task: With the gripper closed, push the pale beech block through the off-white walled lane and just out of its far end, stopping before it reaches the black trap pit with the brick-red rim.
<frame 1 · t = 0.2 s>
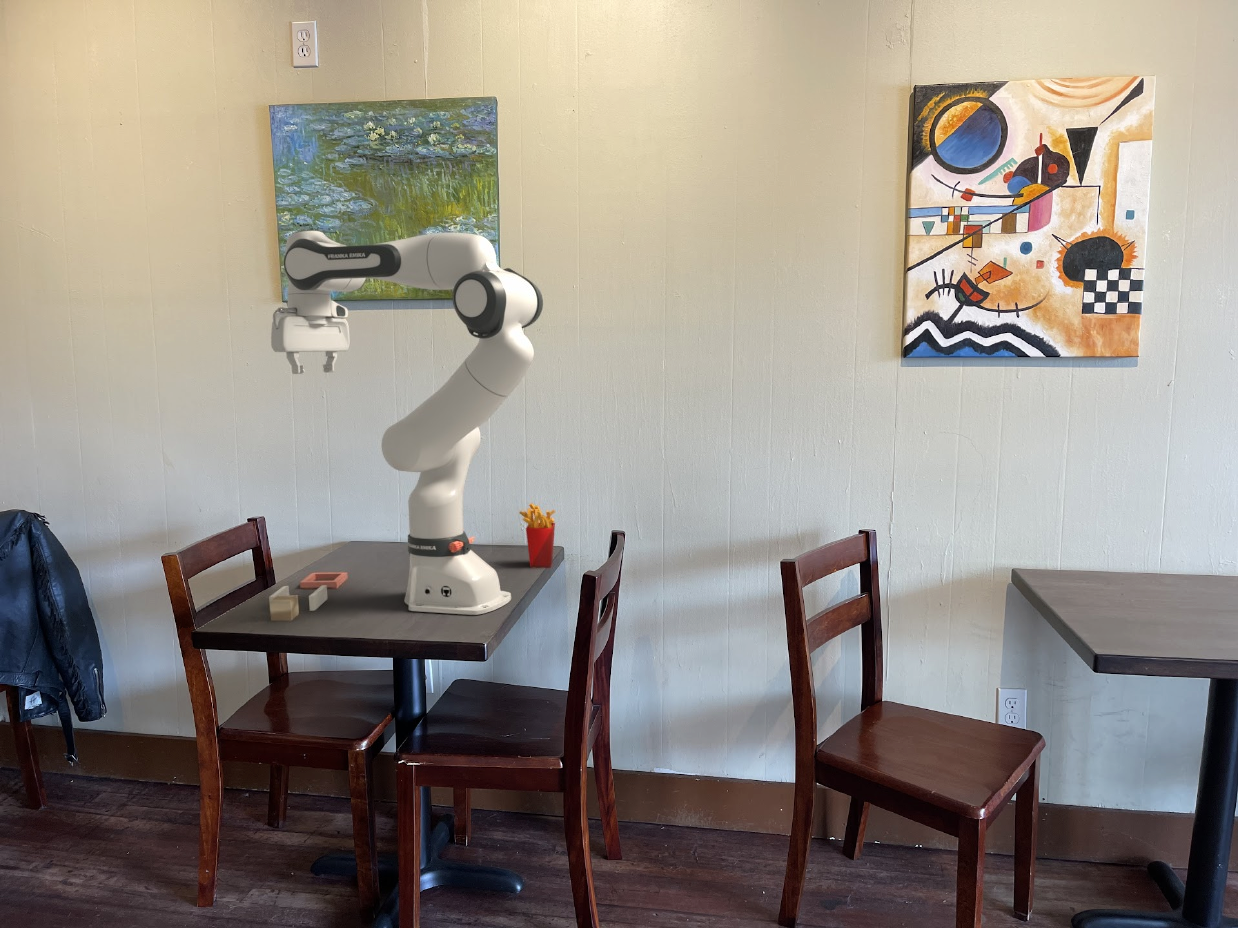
hand: (313, 373, 186), 47 cm above the table, tool pointing down, fingers open, 8 cm apart
beech block: (285, 617, 169), on the table
trap pit: (324, 583, 193), on the table
walled lane: (299, 604, 177), on the table
french fries: (537, 566, 207), on the table
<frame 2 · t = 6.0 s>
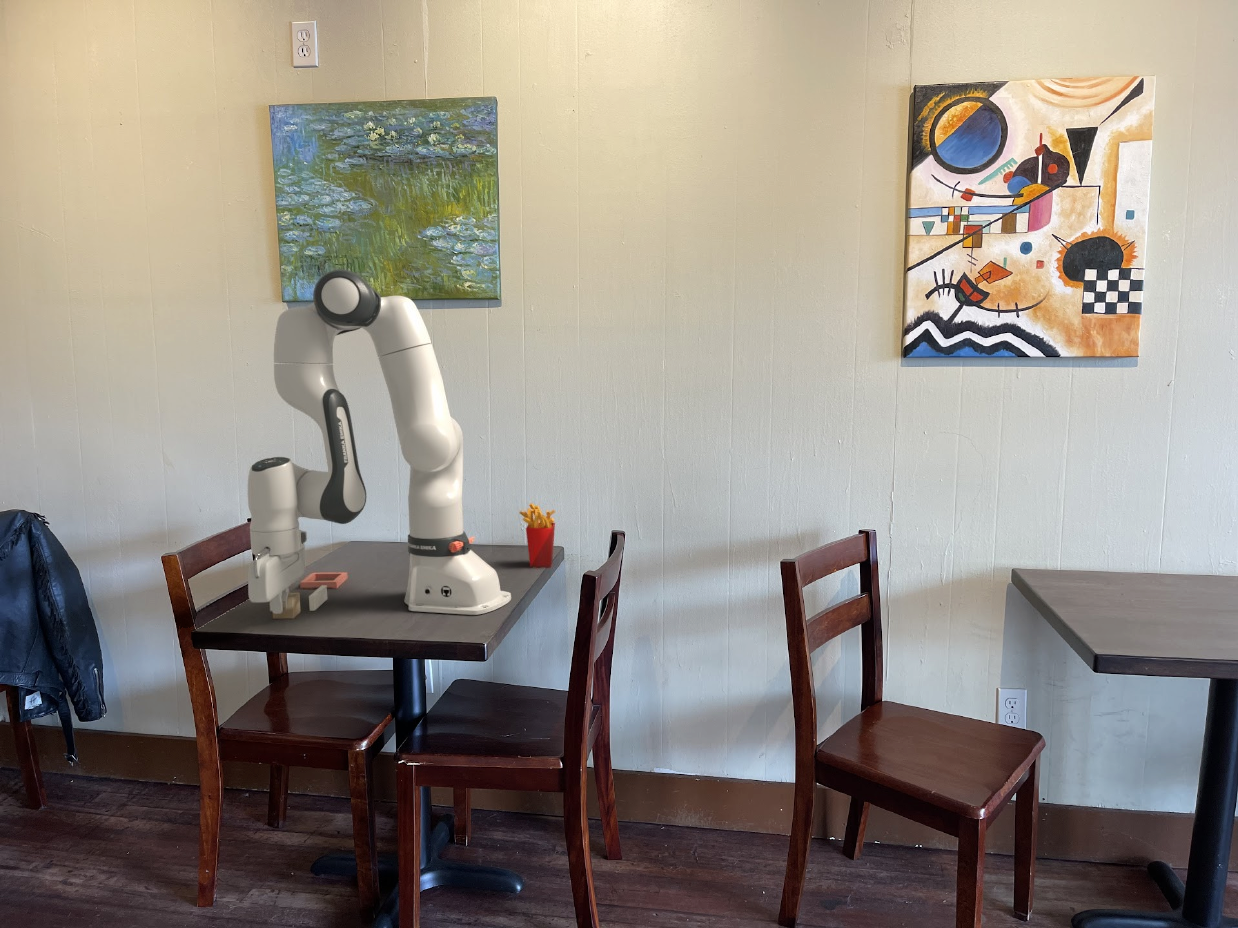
hand: (279, 611, 167), 2 cm above the table, tool pointing down, fingers closed
beech block: (286, 615, 170), on the table, touching gripper
everything else where it was.
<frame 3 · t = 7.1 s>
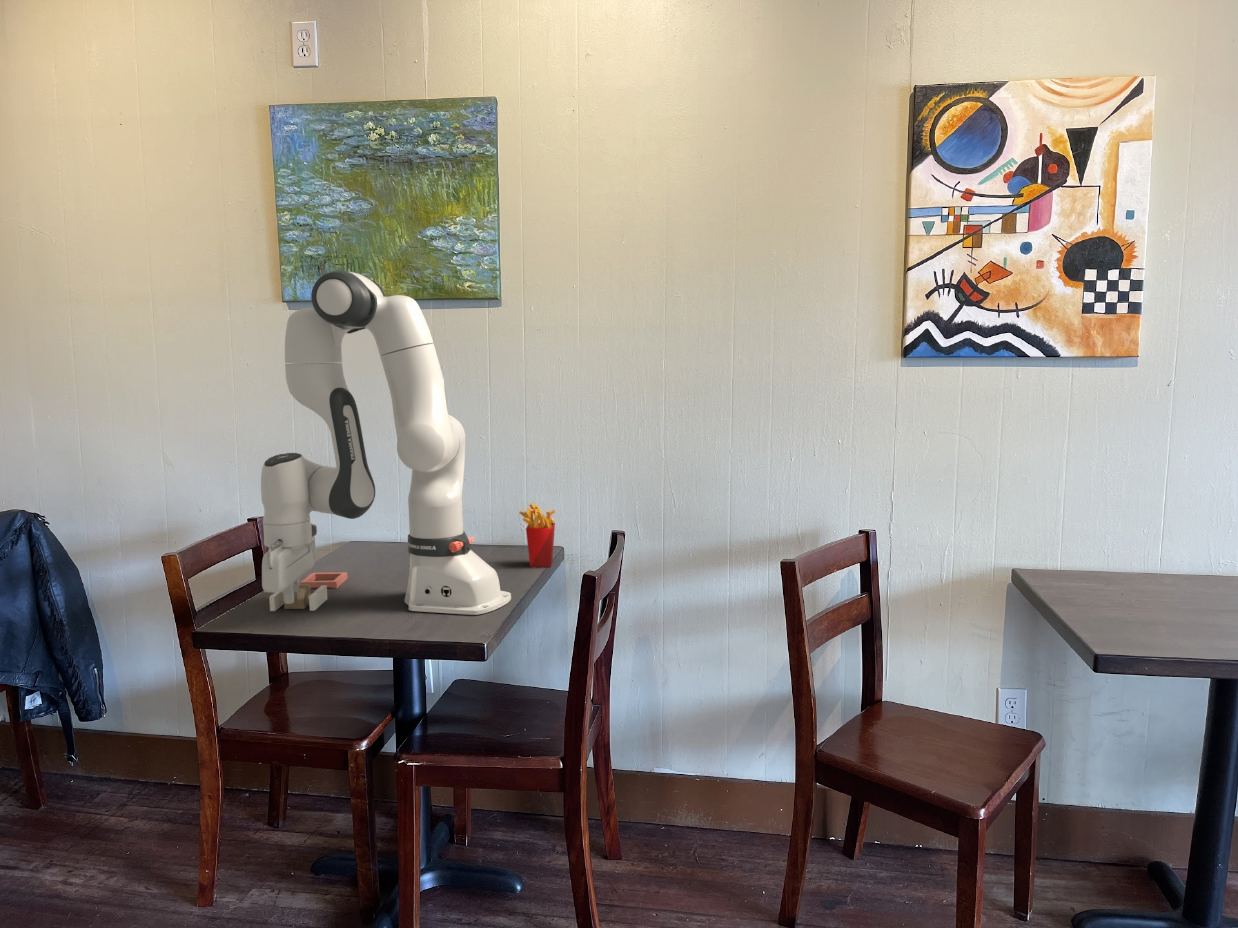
hand: (291, 601, 173), 2 cm above the table, tool pointing down, fingers closed
beech block: (297, 605, 177), on the table, touching gripper
everything else where it was.
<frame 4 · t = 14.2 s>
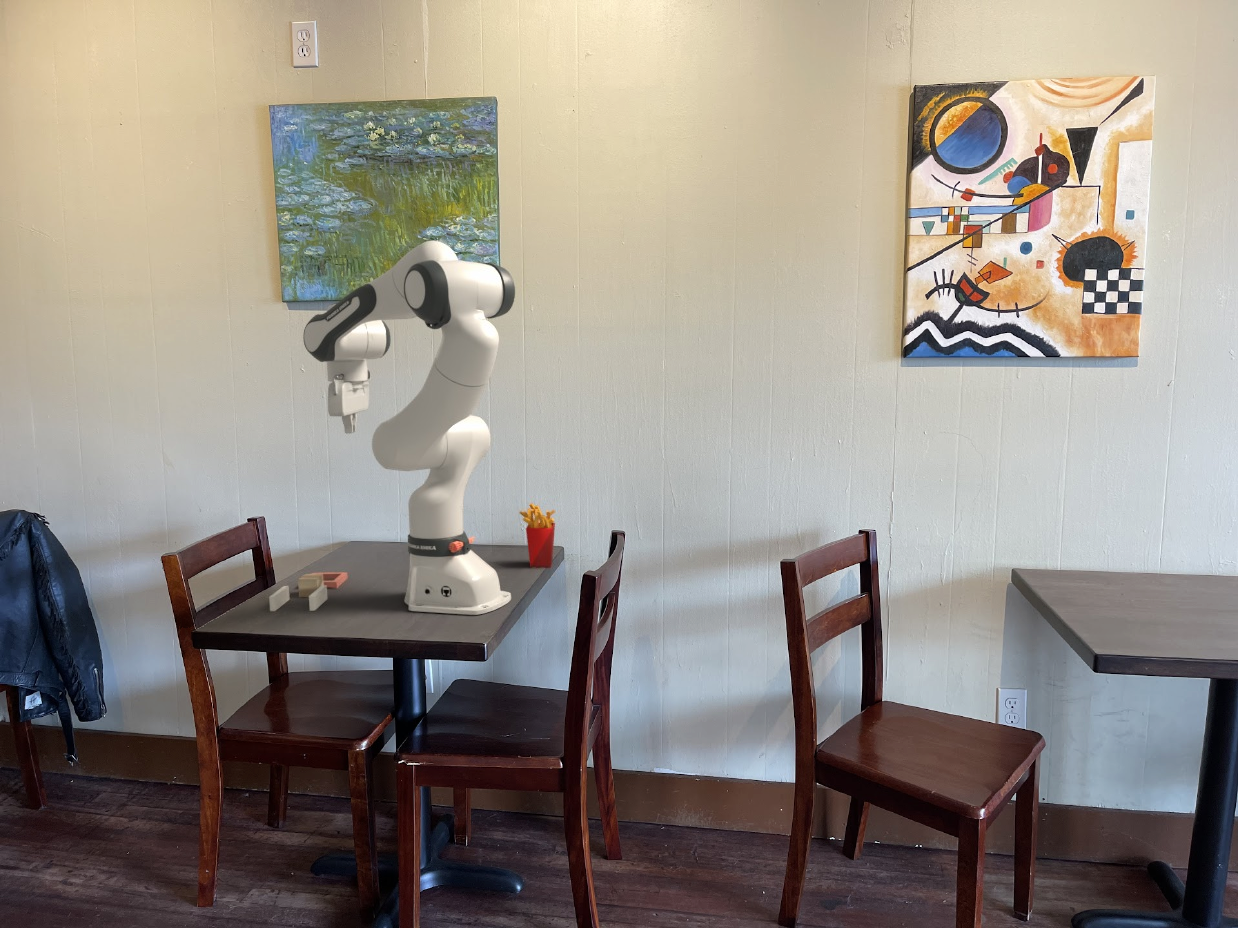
hand: (350, 433, 200), 33 cm above the table, tool pointing down, fingers closed
beech block: (311, 594, 185), on the table
everything else where it was.
at the end: beech block 0.5 cm from the target spot, on the table; beech block touching table; beech block tilted 0° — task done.
